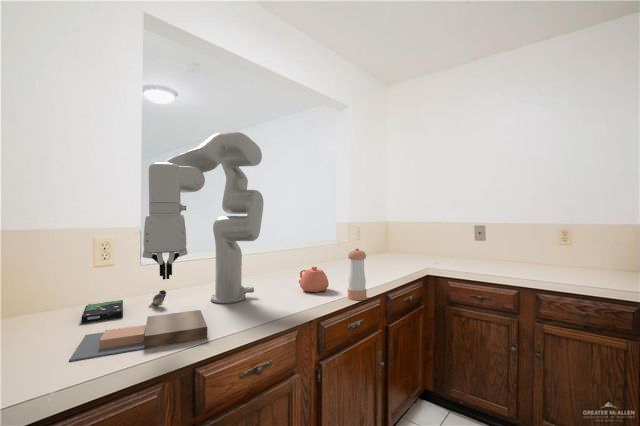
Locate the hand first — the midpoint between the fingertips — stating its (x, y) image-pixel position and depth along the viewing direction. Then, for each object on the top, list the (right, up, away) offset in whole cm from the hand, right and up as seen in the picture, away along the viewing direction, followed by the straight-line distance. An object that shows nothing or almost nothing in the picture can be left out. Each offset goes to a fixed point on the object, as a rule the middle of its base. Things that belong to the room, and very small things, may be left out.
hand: (166, 278), depth 82 cm
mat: (-10, -15, -6) cm, 19 cm away
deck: (+2, -15, 0) cm, 15 cm away
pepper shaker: (+56, -16, +37) cm, 69 cm away
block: (-8, -14, -6) cm, 17 cm away
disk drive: (-28, -16, +16) cm, 36 cm away
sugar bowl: (+38, -16, +49) cm, 64 cm away
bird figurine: (-15, -15, +24) cm, 32 cm away
